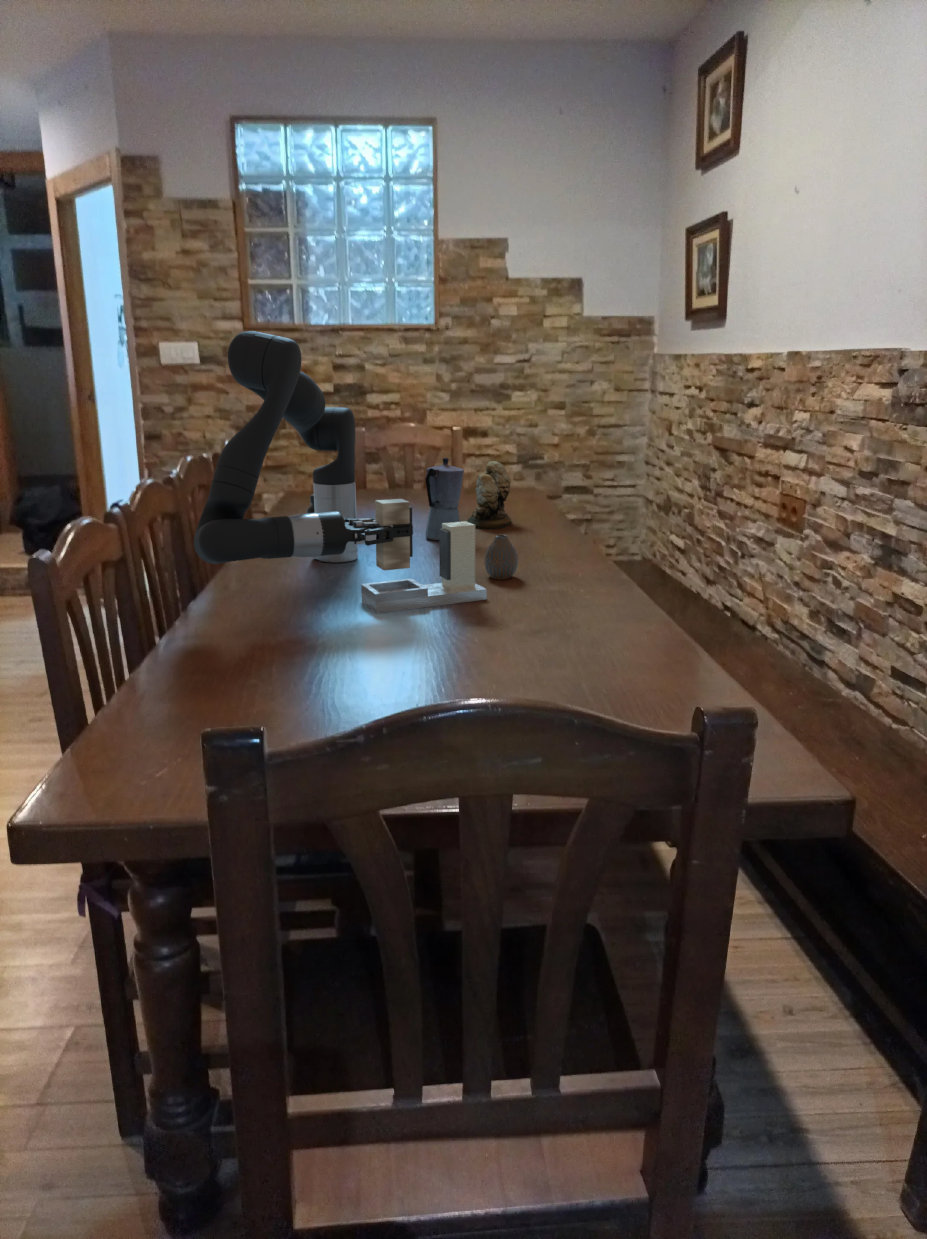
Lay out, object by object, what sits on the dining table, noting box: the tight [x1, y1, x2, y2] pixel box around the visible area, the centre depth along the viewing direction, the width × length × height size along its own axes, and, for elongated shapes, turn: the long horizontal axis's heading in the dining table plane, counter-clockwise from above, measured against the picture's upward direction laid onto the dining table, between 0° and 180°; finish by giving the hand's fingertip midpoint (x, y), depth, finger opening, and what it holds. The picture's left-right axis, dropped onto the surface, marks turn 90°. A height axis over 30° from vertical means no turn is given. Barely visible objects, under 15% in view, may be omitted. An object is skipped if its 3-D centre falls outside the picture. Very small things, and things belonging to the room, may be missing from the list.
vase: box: [484, 534, 519, 580], centre depth 178 cm, size 7×7×9 cm
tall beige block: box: [374, 498, 414, 571], centre depth 156 cm, size 6×4×12 cm
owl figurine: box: [466, 460, 512, 530], centre depth 235 cm, size 18×12×17 cm, turn 169°
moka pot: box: [424, 457, 465, 541], centre depth 214 cm, size 10×15×20 cm, turn 155°
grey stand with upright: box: [360, 520, 488, 614], centre depth 160 cm, size 22×8×14 cm, turn 115°
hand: (406, 527), depth 156 cm, fingers closed on tall beige block, 4 cm apart
